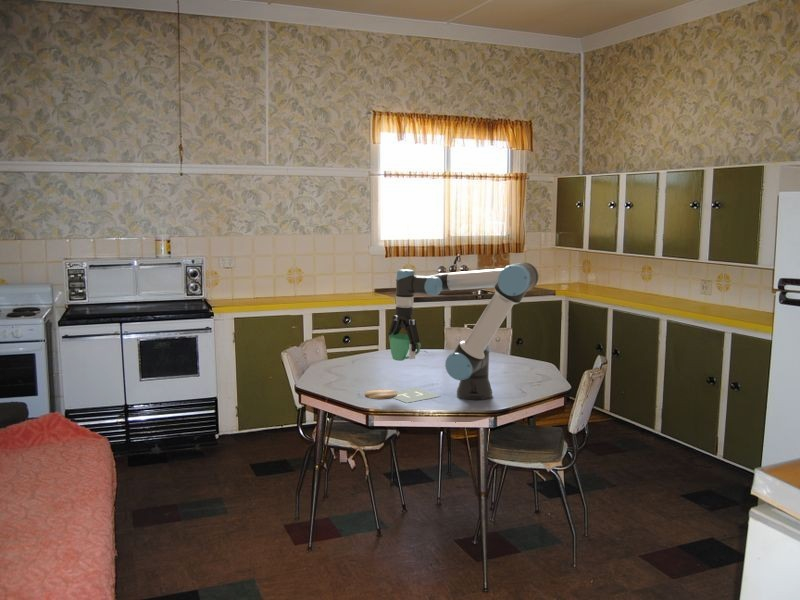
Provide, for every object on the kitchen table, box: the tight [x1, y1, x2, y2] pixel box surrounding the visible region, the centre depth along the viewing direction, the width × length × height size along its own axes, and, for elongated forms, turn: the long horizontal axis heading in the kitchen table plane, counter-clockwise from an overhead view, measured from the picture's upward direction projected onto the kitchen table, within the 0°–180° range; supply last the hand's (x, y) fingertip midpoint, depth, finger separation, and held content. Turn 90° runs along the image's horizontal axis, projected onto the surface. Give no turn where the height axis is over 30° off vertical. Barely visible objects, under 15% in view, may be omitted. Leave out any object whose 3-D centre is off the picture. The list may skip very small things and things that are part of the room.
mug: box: [388, 333, 422, 362], centre depth 313 cm, size 15×10×10 cm
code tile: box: [392, 387, 441, 404], centre depth 315 cm, size 18×18×1 cm
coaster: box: [364, 388, 398, 400], centre depth 316 cm, size 14×14×1 cm
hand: (403, 355), depth 314 cm, fingers closed on mug, 12 cm apart
